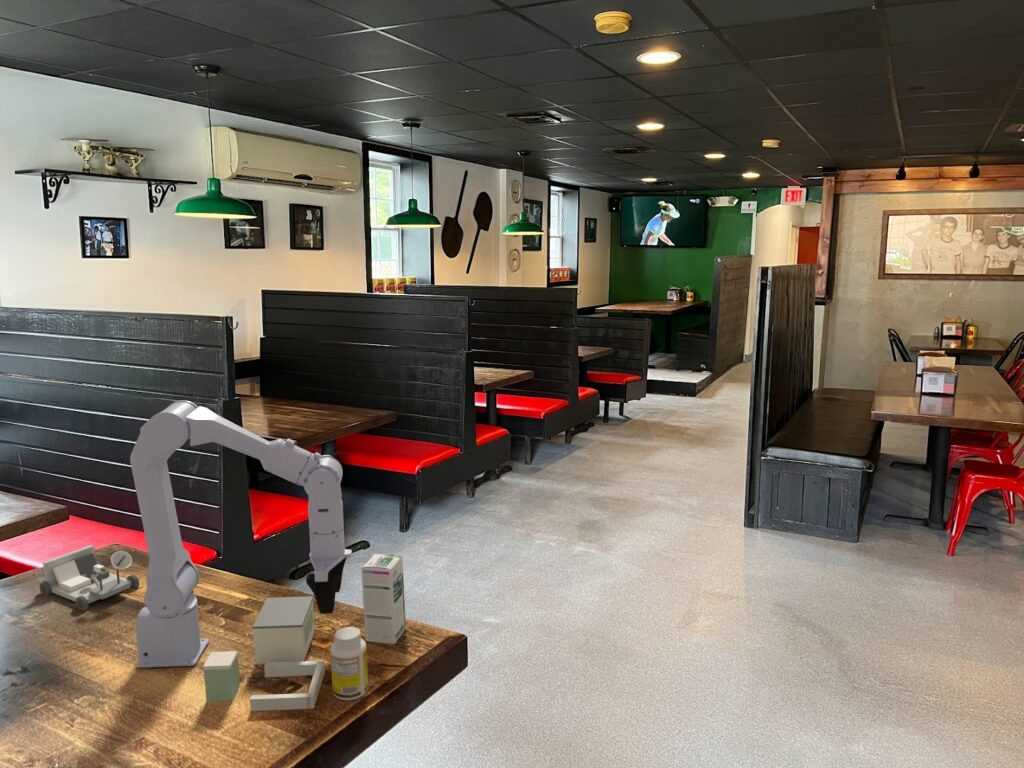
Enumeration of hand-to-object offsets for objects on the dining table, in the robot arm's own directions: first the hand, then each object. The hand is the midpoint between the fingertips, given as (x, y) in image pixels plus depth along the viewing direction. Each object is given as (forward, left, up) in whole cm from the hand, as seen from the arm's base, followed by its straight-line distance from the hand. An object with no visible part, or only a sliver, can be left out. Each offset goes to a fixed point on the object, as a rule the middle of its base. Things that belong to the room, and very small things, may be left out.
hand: (330, 601), depth 132 cm
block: (-15, -13, -8) cm, 22 cm away
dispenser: (-8, 0, -8) cm, 12 cm away
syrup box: (+9, +3, -9) cm, 13 cm away
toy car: (-52, +24, -9) cm, 58 cm away
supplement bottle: (+5, -14, -9) cm, 17 cm away
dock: (-5, -13, -8) cm, 16 cm away
